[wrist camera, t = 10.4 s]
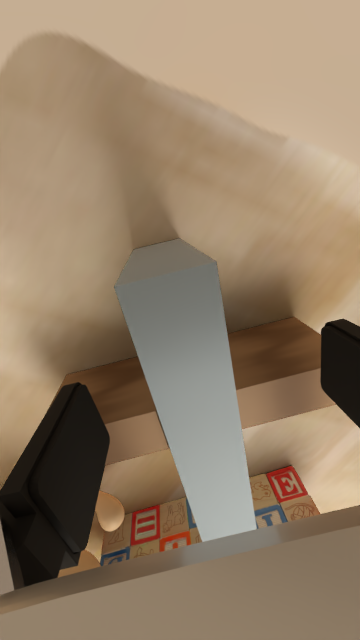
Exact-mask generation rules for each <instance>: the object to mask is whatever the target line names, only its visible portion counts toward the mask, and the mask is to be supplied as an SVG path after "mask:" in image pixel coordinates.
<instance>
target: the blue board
mask: <svg viewBox="0 0 360 640" xmlns="http://www.w3.org/2000/svg"><path fill="white" fill-rule="evenodd" d="M114 288H115V291H116V294H117V297H118V300H119V303H120V306H121V309H122V312H123V314H124V317H125V320H126V323H127V326H128V329H129V332H130V335H131V338H132V340H133V343H134V346H135V349H136V352H137V355H138V358H139V361H140V363H141V366H142V369H143V372H144V375H145V378H146V381H147V384H148V387H149V389H150V392H151V395H152V398H153V401H154V404H155V407H156V410H157V413H158V415H159V418H160V421H161V424H162V427H163V430H164V433H165V436H166V439H167V441H168V444H169V447H170V450H171V453H172V456H173V459H174V462H175V464H176V467H177V470H178V473H179V476H180V479H181V482H182V485H183V488H184V490H185V493H186V496H187V499H188V502H189V505H190V508H191V511H192V514H193V516H194V519H195V522H196V525H197V528H198V531H199V534H200V537H201V539H202V542H204V541H208V540H213V539H217V538H221V537H225V536H230V535H234V534H238V533H242V532H247V531H251V530H255V529H257V527H256V520H255V514H254V507H253V501H252V494H251V487H250V481H249V474H248V467H247V461H246V454H245V447H244V441H243V434H242V428H241V421H240V414H239V408H238V401H237V394H236V388H235V381H234V374H233V368H232V361H231V355H230V348H229V341H228V335H227V328H226V321H225V315H224V308H223V301H222V295H221V288H220V282H219V275H218V268H217V262H216V261H215V260H213V259H212V258H210V257H208V256H207V255H205V254H204V253H202V252H201V251H199V250H197V249H196V248H194V247H193V246H191V245H190V244H188V243H186V242H185V241H183V240H182V239H180V238H179V239H174V240H170V241H166V242H162V243H158V244H154V245H150V246H146V247H141V248H137V249H134V250H133V252H132V253H131V255H130V257H129V259H128V261H127V263H126V265H125V267H124V269H123V271H122V272H121V274H120V276H119V278H118V280H117V282H116V284H115V286H114Z"/></svg>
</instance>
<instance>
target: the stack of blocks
mask: <svg viewBox="0 0 360 640" xmlns="http://www.w3.org/2000/svg"><path fill="white" fill-rule="evenodd" d="M249 481H250V487H251V494H252V501H253V507H254V514H255V520H256V527H257V529H259V528H264V527H268V526H272V525H276V524H281V523H285V522H289V521H294V520H298V519H302V518H307V517H311V516H315V515H319V514H320V513H319V511H318V509H317V507H316V505H315V504H314V502H313V500H312V498H311V497H310V495H308V493H307V491H306V489H305V487H304V485H303V483H302V481H301V480H300V478H299V476H298V474H297V473H296V471H295V469H294V468H293V466H289V467H286V468H282V469H279V470H276V471H273V472H270V473H267V474H260V475H257V476H253V477H250V478H249ZM200 542H202V539H201V537H200V534H199V531H198V528H197V525H196V522H195V519H194V516H193V514H192V511H191V508H190V505H189V502H188V499H187V497H184V498H181V499H178V500H174V501H171V502H168V503H164V504H161V505H156V506H153V507H149V508H146V509H143V510H139V511H136V512H133V513H129V514H126V515H124V519H123V522H122V524H121V525H120V526H119V527H118V528H117V529H116V530H114V531H105V532H104V539H103V545H102V553H101V561H100V565H101V566H104V565H108V564H113V563H117V562H121V561H125V560H129V559H133V558H138V557H142V556H146V555H150V554H154V553H158V552H163V551H167V550H171V549H175V548H179V547H183V546H188V545H192V544H196V543H200Z"/></svg>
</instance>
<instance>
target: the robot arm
mask: <svg viewBox="0 0 360 640" xmlns="http://www.w3.org/2000/svg"><path fill="white" fill-rule="evenodd" d="M320 383H321V387H322V389H323V391H324V392H325V393H326V394H327V395H328V396H329V397H330V398H331V399H332V400H333V401H334V402H335V403H336V404H337V405H338V406H339V407H340V408H341V409H342V411H343V412H344V413H345V414H346V415H347V416H348V417H349V418H350V419H351V420H352V421H353V422H354V423H355V424H356V425H357V426H358V427H359V428H360V327H359V326H357V325H355V324H353V323H351V322H349V321H348V320H345V319H339V320H335V321H331V322H327V323H326V324H325V327H323V328H322V330H321V378H320ZM109 444H110V436H109V433H108V430H107V428H106V426H105V424H104V422H103V420H102V418H101V416H100V413H99V411H98V409H97V407H96V405H95V403H94V401H93V399H92V396H91V394H90V392H89V390H88V388H87V386H86V385H82V384H81V383H80V382H76V383H72V384H68V385H64V386H63V387H62V388H61V389H60V391H59V393H58V394H57V396H56V398H55V399H54V401H53V403H52V405H51V406H50V408H49V410H48V411H47V413H46V415H45V416H44V418H43V420H42V421H41V423H40V425H39V426H38V428H37V430H36V431H35V433H34V435H33V437H32V438H31V440H30V442H29V443H28V445H27V447H26V448H25V450H24V452H23V453H22V455H21V457H20V458H19V460H18V462H17V463H16V465H15V467H14V468H13V470H12V472H11V474H10V475H9V477H8V479H7V480H6V482H5V484H4V485H3V487H2V489H1V490H0V640H360V505H359V506H354V507H350V508H345V509H341V510H337V511H332V512H328V513H324V514H319V515H315V516H311V517H307V518H302V519H298V520H294V521H289V522H285V523H281V524H276V525H272V526H268V527H264V528H259V529H255V530H251V531H247V532H242V533H238V534H234V535H230V536H225V537H221V538H217V539H213V540H208V541H204V542H200V543H196V544H192V545H188V546H183V547H179V548H175V549H171V550H167V551H163V552H158V553H154V554H150V555H146V556H142V557H138V558H133V559H129V560H125V561H121V562H117V563H113V564H108V565H104V566H100V567H97V568H93V569H89V570H85V571H81V572H78V573H74V574H70V575H66V576H62V577H59V578H58V575H59V571H60V570H62V569H67V568H71V567H75V566H78V563H79V559H80V554H81V551H83V550H84V549H85V548H86V546H87V543H88V539H89V534H90V530H91V525H92V521H93V516H94V512H95V507H96V503H97V498H98V494H99V489H100V485H101V480H102V476H103V471H104V467H105V462H106V458H107V453H108V449H109Z"/></svg>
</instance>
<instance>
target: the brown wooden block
mask: <svg viewBox="0 0 360 640" xmlns="http://www.w3.org/2000/svg"><path fill="white" fill-rule="evenodd" d="M227 335H228V341H229V348H230V355H231V361H232V368H233V374H234V381H235V388H236V394H237V401H238V408H239V414H240V421H241V428H242V429H245V428H249V427H252V426H256V425H260V424H264V423H268V422H271V421H275V420H279V419H283V418H287V417H290V416H294V415H298V414H302V413H305V412H309V411H313V410H317V409H321V408H324V407H328V406H332V405H336V403H335V402H334V401H333V400H332V399H331V398H330V397H329V396H328V395H327V394H326V393H325V392H324V391H323V389H322V387H321V383H320V378H321V335H320V334H319V333H317V332H316V331H314V330H313V329H312V328H310V327H309V326H307V325H306V324H304V323H303V322H301V321H300V320H298V319H297V318H295V317H291V318H288V319H284V320H280V321H276V322H272V323H268V324H264V325H260V326H256V327H252V328H248V329H244V330H240V331H237V332H233V333H229V334H227ZM76 382H80V383H81V384H82V385H86V386H87V388H88V390H89V392H90V394H91V396H92V399H93V401H94V403H95V405H96V407H97V409H98V411H99V413H100V416H101V418H102V420H103V422H104V424H105V426H106V428H107V430H108V433H109V436H110V444H109V449H108V453H107V458H106V462H105V465H108V464H112V463H116V462H120V461H124V460H127V459H131V458H135V457H139V456H142V455H146V454H150V453H154V452H158V451H161V450H165V449H169V446H168V441H167V439H166V436H165V433H164V430H163V427H162V424H161V421H160V418H159V415H158V413H157V410H156V407H155V404H154V401H153V398H152V395H151V392H150V389H149V387H148V384H147V381H146V378H145V375H144V372H143V369H142V366H141V363H140V361H139V358H138V357H135V358H131V359H127V360H123V361H119V362H115V363H111V364H107V365H103V366H99V367H95V368H91V369H87V370H84V371H80V372H76V373H72V374H68V375H66V377H65V379H64V381H63V383H62V384H61V386H60V388H59V390H58V392H57V394H58V393H59V391H60V389H61V388H62V387H63V386H64V385H68V384H72V383H76ZM57 394H56V396H57ZM56 396H55V398H56ZM55 398H54V399H55ZM54 399H53V401H54ZM53 401H52V403H53ZM52 403H51V405H52ZM51 405H50V406H51ZM49 408H50V407H49ZM48 410H49V409H48ZM45 415H46V414H45Z"/></svg>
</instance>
